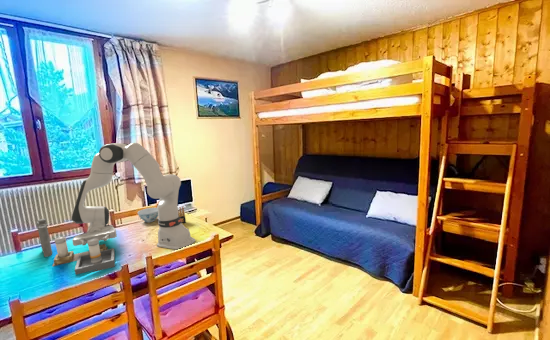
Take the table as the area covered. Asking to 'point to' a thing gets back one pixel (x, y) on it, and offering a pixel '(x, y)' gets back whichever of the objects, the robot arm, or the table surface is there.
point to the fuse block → (74, 256)
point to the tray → (85, 263)
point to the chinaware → (148, 214)
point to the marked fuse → (94, 251)
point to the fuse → (61, 247)
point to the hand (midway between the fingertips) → (94, 241)
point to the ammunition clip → (182, 215)
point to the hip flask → (44, 237)
